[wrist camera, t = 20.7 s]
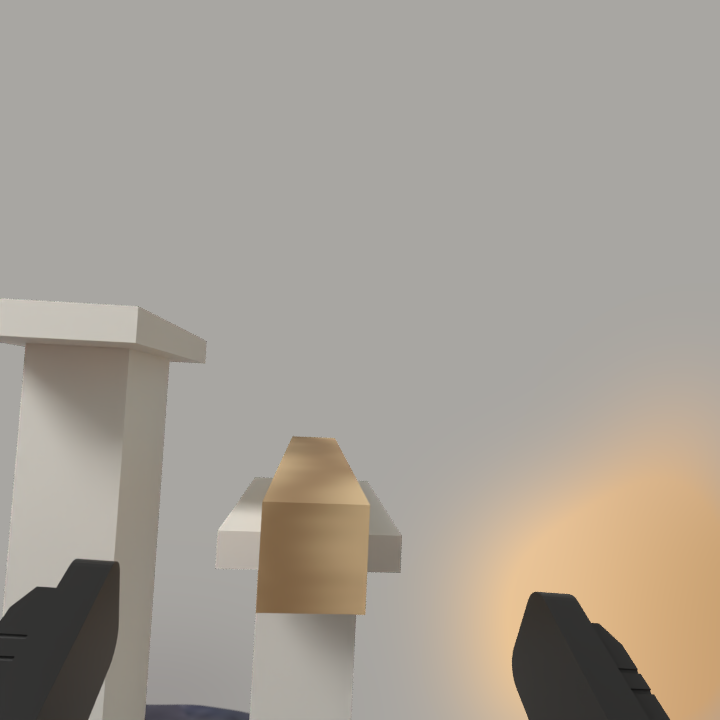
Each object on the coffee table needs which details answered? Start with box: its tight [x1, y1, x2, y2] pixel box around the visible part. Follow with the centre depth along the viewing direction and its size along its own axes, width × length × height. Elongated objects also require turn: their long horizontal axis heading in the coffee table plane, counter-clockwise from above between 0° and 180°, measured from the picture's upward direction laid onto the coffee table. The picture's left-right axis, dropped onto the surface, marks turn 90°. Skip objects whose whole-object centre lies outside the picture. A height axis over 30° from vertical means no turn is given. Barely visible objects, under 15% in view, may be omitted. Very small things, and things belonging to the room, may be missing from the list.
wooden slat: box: [256, 437, 370, 615], centre depth 28 cm, size 3×25×3 cm, turn 5°
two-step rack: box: [0, 298, 402, 720], centre depth 32 cm, size 20×16×32 cm
